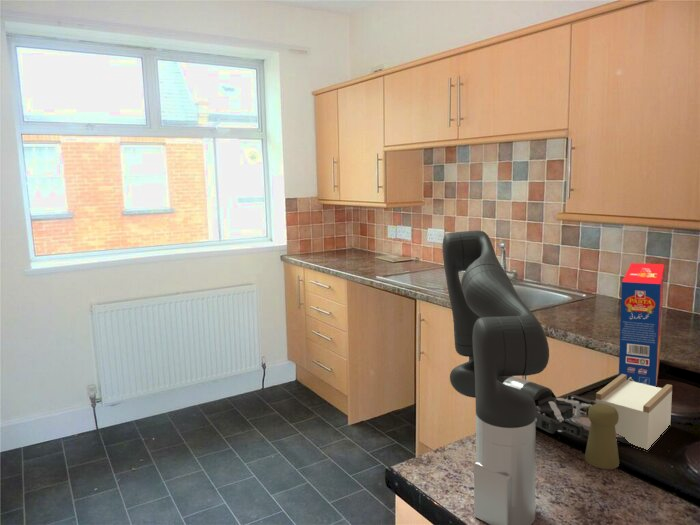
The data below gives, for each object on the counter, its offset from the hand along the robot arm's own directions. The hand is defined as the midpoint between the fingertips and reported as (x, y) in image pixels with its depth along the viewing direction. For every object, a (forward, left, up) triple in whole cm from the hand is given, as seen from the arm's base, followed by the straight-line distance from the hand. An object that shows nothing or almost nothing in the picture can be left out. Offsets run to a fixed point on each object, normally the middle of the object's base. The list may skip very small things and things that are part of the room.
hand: (596, 426), depth 98 cm
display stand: (+16, -1, -7) cm, 17 cm away
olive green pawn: (0, -1, -7) cm, 7 cm away
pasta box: (+49, +8, -7) cm, 50 cm away
